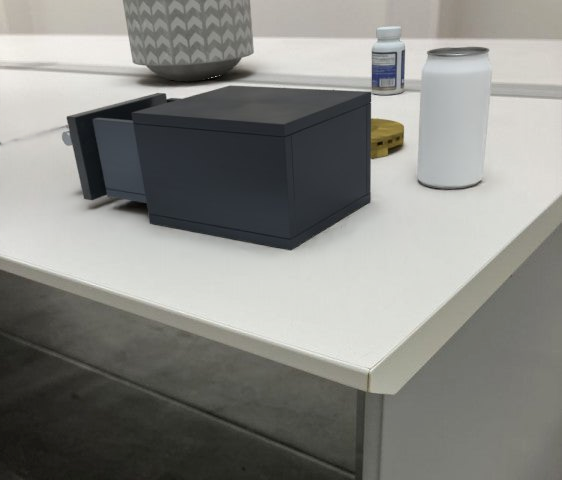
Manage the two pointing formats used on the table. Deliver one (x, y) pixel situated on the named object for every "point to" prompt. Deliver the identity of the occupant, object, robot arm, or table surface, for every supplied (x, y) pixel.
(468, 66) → the can
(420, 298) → the table surface
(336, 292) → the table surface
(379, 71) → the pill bottle
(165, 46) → the planter
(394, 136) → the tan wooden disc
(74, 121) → the drawer
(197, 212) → the cabinet
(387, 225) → the table surface
